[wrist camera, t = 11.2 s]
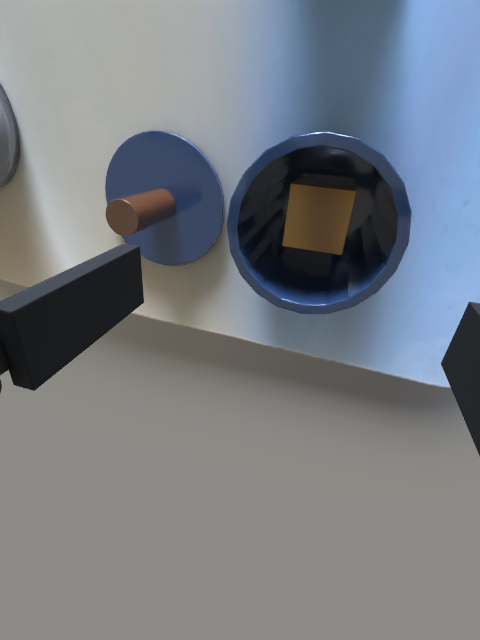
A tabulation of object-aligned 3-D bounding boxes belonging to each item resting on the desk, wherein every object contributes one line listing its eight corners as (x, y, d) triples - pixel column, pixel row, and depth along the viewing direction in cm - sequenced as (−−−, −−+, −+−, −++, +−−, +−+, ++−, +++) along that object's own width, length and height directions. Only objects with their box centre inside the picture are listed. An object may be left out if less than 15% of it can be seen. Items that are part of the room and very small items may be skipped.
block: (290, 232, 34) (281, 246, 30) (298, 177, 32) (290, 183, 27) (342, 240, 33) (341, 255, 29) (355, 183, 31) (357, 191, 26)
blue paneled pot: (238, 173, 33) (199, 185, 24) (369, 106, 28) (379, 90, 19) (285, 285, 37) (266, 331, 29) (408, 245, 32) (430, 285, 23)
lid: (90, 168, 37) (26, 175, 30) (188, 103, 32) (139, 92, 24) (150, 277, 42) (108, 307, 34) (247, 237, 36) (221, 262, 29)
